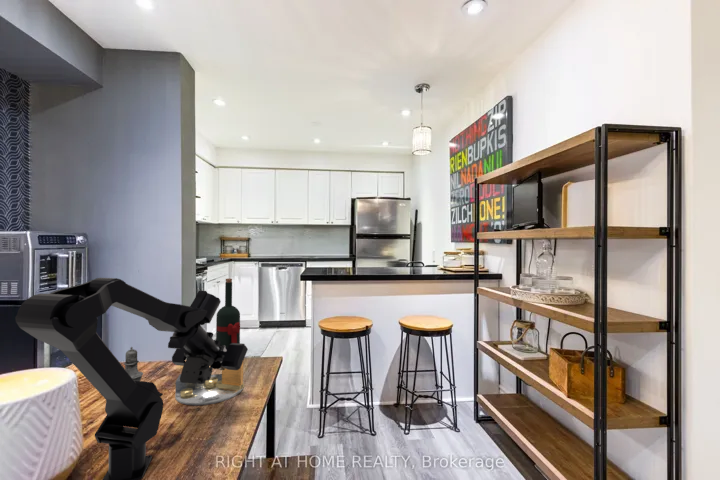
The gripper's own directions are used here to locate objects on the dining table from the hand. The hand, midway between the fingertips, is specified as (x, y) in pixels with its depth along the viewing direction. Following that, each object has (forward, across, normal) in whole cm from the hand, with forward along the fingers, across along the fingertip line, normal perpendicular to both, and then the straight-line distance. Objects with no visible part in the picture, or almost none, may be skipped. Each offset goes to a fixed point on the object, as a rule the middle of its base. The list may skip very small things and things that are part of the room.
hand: (223, 368), depth 91 cm
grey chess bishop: (+5, -30, -6) cm, 31 cm away
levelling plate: (+8, -7, -3) cm, 11 cm away
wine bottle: (+21, -12, +9) cm, 26 cm away
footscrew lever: (+7, -2, -2) cm, 8 cm away
